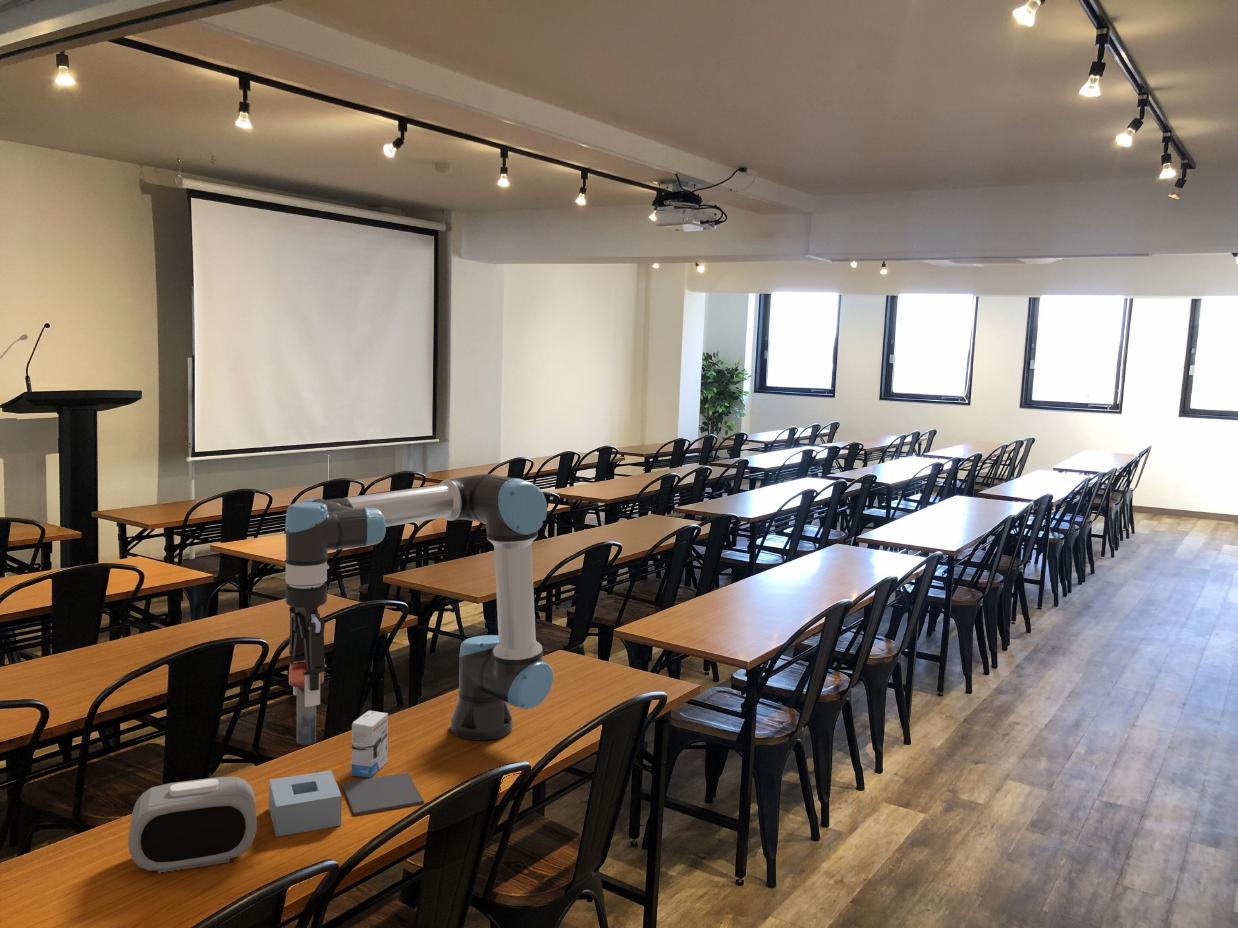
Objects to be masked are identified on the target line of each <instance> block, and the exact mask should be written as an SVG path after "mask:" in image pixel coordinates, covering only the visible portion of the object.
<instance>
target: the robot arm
mask: <svg viewBox="0 0 1238 928" xmlns="http://www.w3.org/2000/svg"><path fill="white" fill-rule="evenodd" d="M545 497H546V496H545V495H544V493H543V491H542V490H541V489H540V487H538V486H537V485H536V484H534V483H532V482H530V481H527V480H525V479H523V478H522V479H521V478H516V477H515V478H514V477H508V476H503V475H502V476H501V475H497V474H492V473H481V474H475V475H468V476H461V477H454V478H448V479H443V480H442V481H441V482H439V484H437V485H436V484H435V485H429V486H423V487H415V488H406V489H400V490H394V491H392V490H391V491H384V492H377V493H371V494H370V493H369V494H364V495H354V496H350V497H349V496H348V497H342V498H341V497H340V498H333V499H332V498H331V499H323V498H320V497H318V498H315V497H314V498H308V499H306V500H304V501H303V502H295V503H292V504H290V505H289V506H288V507H287V508H286V514H285V525H284V526H285V527H284V531H285V554H286V555H285V556H286V557H285V558H286V559H285V583H286V584H287V585H286V586H285V604H287V606H289V610H288V612H289V646H288V647H289V651H288V653H289V655H290V656H291V660H292V661H293V662H292V663H297V662H303V661H306V668H307V672H303V675H305V707H310V706H315V705H316V706H319V705H321V684H320V673H321V672H324V673H325V670H326V669H325V668H326V666H325V665H326V663H325V661H326V659H325V634H324V633H325V625H326V623H325V621H324V620H322V621H321V615H320V613H319V607H320V606H323V605H325V604H327V601H328V585H327V583H325V582H327V580H328V571H327V570H329V569H330V565H329V564H328V553H329V552H328V551H335V550H337V551H338V550H344V549H351V548H352V549H353V548H363V547H365V548H367V547H369V546H373V545H377V544H380V543H381V542H382V541H383V539H384V538H385V535H386V532H387V531H386V527H392V526H393V527H394V526H398V525H399V526H400V525H405V524H412V523H419V522H424V521H429V520H436V519H442V518H444V520H446V521H450V522H451V521H452V522H453V521H459V520H466V521H473V522H477V523H480V524H485V526H486V539H487V541H489V542H490V543H491V544H492V545H493V549H494V551H493V552H494V567H495V568H494V569H495V570H494V571H495V588H496V589H495V590H496V592H495V593H496V611H497V630H498V633H497V634H496V635H494V634H488V635H486V634H485V635H477V636H472V637H468V638H467V639H464V640H463V641H462V642H461V644H460V650H459V656H458V658H459V672H458V673H459V676H458V677H459V678H458V680H459V681H458V682H459V683H458V700H457V702H456V705H455V708H454V710H453V714H452V717H451V720H450V731H451V733H452V734H453V735H455V736H456V737H459V738H461V739H465V740H471V741H491V740H496V739H500V738H503V737H505V736H508V735H509V734H510V733H511V732H512V731H513V717H512V713H511V710H510V706H513V707H517V708H520V709H521V710H530V709H534V708H536V707H538V706H539V705H541V704H542V702H544V700H546V698H547V696H548V695H549V694H550V692H551V690H552V687H553V684H554V677H555V675H554V671H553V668H552V667H551V666H550V665H549V663H547V662H545V661H544V654H543V652H544V651H543V646H542V643H540V642H538V641H537V639H536V618H535V617H536V616H535V598H534V597H535V595H534V574H533V572H534V571H533V551H532V549H533V548H532V545H533V544H532V543H533V542H534V540H535V539H537V537H538V536H539V533H538V530H540V529H541V528H542V526H543V525H544V523H543V522H544V521H546V519H547V512H548V505H547V500H546V498H545ZM292 687H293V686H292ZM292 690H293V693H292V694H293V696H297V687H293V689H292ZM509 705H510V706H509Z"/></svg>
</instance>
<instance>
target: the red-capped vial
mask: <svg viewBox="0 0 1238 928" xmlns="http://www.w3.org/2000/svg"><path fill="white" fill-rule="evenodd" d="M303 672H307V668H306V661H305V660H304V661H303V662H297V663H293V662H292V663H289V667H288V684H289V686H291V687H297V695H296V744H299V745H301V746H302V745H305V746H307V745H308V746H309V745H312V744H314V743H315V742H316V741H317V705H315V706H310V707H305V675H303ZM324 673H325V672H321V673H320V685H321V684H323V683H324V681H325V680H324V679H325V677H324V676H325V675H324Z"/></svg>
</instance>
